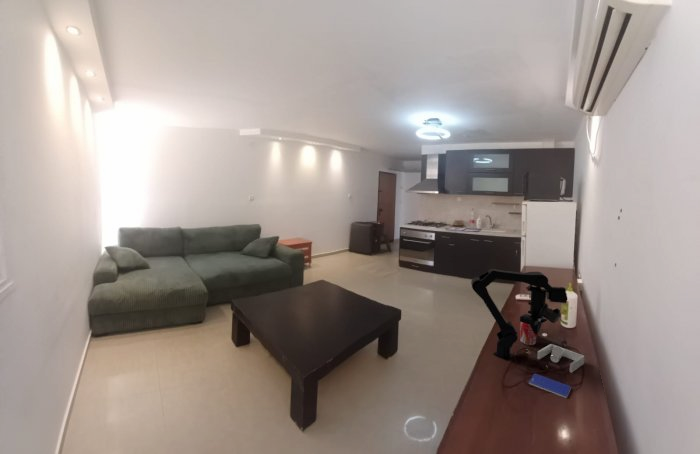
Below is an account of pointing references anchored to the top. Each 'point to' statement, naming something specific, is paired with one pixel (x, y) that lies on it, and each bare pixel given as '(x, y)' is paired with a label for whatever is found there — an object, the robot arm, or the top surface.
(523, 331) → the soda can
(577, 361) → the box
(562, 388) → the hard drive
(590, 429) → the top surface
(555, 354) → the milkshake
